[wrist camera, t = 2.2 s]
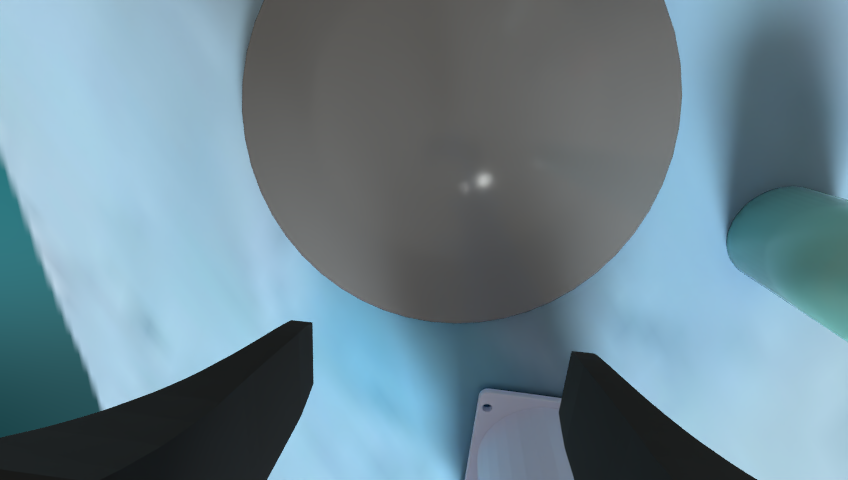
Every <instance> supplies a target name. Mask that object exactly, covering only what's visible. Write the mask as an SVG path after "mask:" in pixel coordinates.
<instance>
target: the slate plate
mask: <svg viewBox="0 0 848 480" xmlns="http://www.w3.org/2000/svg"><path fill="white" fill-rule="evenodd" d="M681 100H682V86H681V65H680V58H679V53H678V48H677V42H676V37H675V31H674V29H673V26H672V23H671V20H670V17H669V14H668V11H667V8H666V5H665V2H664V0H264V2H263V4H262V6H261V9H260V11H259V14H258V16H257V19H256V21H255V24H254V27H253V31H252V35H251V38H250V42H249V46H248V49H247V54H246V61H245V68H244V75H243V89H242V114H243V123H244V132H245V140H246V145H247V149H248V153H249V158H250V162H251V166H252V169H253V172H254V174H255V177H256V180H257V183H258V186H259V188H260V191H261V193H262V195H263V197H264V199H265V201H266V203H267V205H268V207H269V209H270V211H271V213H272V215H273V217H274V218H275V220H276V221H277V223H278V224H279V226H280V227H281V229H282V230H283V232H284V233H285V235H286V237H287V238H288V239H289V240H290V241H291V243H292V244H293V245H294V246H295V247H296V249H297V250H298V251H299V252H300V253H301V254H302V256H303V257H304V258H305V259H306V260H307V261H309V262H310V263H311V264H312V265H313V266H314V267H315V268H316V269H317V270H318V271H319V272H320V273H321V274H323V275H324V276H325V277H327V278H328V279H329V280H331V281H332V282H333V283H335V284H336V285H337V286H339V287H340V288H341V289H343V290H345V291H347V292H348V293H350V294H352V295H353V296H355V297H357V298H359V299H360V300H362V301H364V302H367V303H369V304H371V305H373V306H376V307H378V308H380V309H383V310H385V311H388V312H392V313H395V314H398V315H401V316H405V317H409V318H414V319H419V320H425V321H430V322H443V323H472V322H483V321H490V320H496V319H502V318H506V317H510V316H513V315H517V314H520V313H524V312H527V311H530V310H532V309H535V308H537V307H540V306H542V305H544V304H547V303H549V302H552V301H553V300H555V299H557V298H559V297H561V296H562V295H564V294H566V293H568V292H570V291H571V290H573V289H575V288H576V287H577V286H579V285H580V284H582V283H583V282H584V281H586V280H587V279H589V278H590V277H591V276H593V275H594V274H596V273H597V272H598V271H599V270H600V269H601V268H602V267H603V266H604V265H605V264H606V263H608V262H609V261H610V260H611V259H612V258H613V257H614V256H615V255H616V254H617V253H618V252H619V250H620V249H621V248H622V247H623V246H624V245H625V244H626V242H627V241H628V240H629V239H630V238H631V237H632V235H633V234H634V233H635V231H636V230H637V228H638V227H639V225H640V224H641V222H642V221H643V219H644V218H645V216H646V215H647V213H648V212H649V210H650V208H651V206H652V204H653V202H654V200H655V198H656V196H657V194H658V192H659V190H660V189H661V187H662V185H663V182H664V179H665V176H666V173H667V171H668V168H669V165H670V162H671V159H672V157H673V152H674V148H675V143H676V139H677V134H678V130H679V123H680V112H681Z"/></svg>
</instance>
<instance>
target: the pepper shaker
mask: <svg viewBox="0 0 848 480" xmlns="http://www.w3.org/2000/svg"><path fill="white" fill-rule="evenodd" d="M727 251H728V255H729V258H730V260H731V261H732V263H733V264H734V266H735V267H736V268H737V269H738V270H739V271H741V272H742V273H744V274H745V275H747V276H748V277H750V278H751V279H753V280H754V281H756V282H757V283H759V284H760V285H762V286H763V287H765V288H766V289H768V290H769V291H771V292H773V293H774V294H776V295H777V296H779V297H780V298H782V299H783V300H785V301H786V302H788V303H789V304H791V305H792V306H794V307H795V308H797V309H798V310H800V311H801V312H803V313H804V314H806V315H807V316H809V317H810V318H812V319H813V320H815V321H817V322H818V323H820V324H821V325H823V326H824V327H826V328H827V329H829V330H830V331H832V332H833V333H835V334H836V335H838V336H839V337H841V338H842V339H844V340H845V341H847V342H848V200H846V199H843V198H840V197H836V196H833V195H829V194H826V193H822V192H819V191H815V190H812V189H808V188H804V187H796V186H790V187H781V188H777V189H773V190H770V191H768V192H765V193H763V194H761V195H759V196H758V197H756V198H754V199H753V200H752V201H750V202H749V203H748V204H747V205H745V206H744V207H743V208H742V210H741V211H740V212H739V213H738V214H737V216H736V217H735V219H734V220H733V222H732V224H731V226H730V229H729V232H728V236H727Z"/></svg>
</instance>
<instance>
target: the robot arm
mask: <svg viewBox="0 0 848 480" xmlns="http://www.w3.org/2000/svg"><path fill="white" fill-rule="evenodd" d="M312 386H313V336H312V323H311V322H302V321H293V320H291V321H289V322H287V323H285V324H283V325H281V326H280V327H278V328H276V329H275V330H273V331H271V332H270V333H268V334H266V335H265V336H263V337H261V338H260V339H258V340H256V341H255V342H253V343H251V344H249V345H248V346H246V347H244V348H243V349H241V350H239V351H238V352H236V353H234V354H232V355H230V356H229V357H227V358H225V359H223V360H221V361H219V362H217V363H215V364H214V365H212V366H210V367H208V368H206V369H204V370H202V371H200V372H198V373H196V374H194V375H192V376H190V377H188V378H186V379H184V380H181V381H179V382H177V383H175V384H172V385H170V386H168V387H165V388H163V389H161V390H158V391H156V392H153V393H151V394H148V395H145V396H142V397H140V398H137V399H134V400H131V401H129V402H126V403H123V404H120V405H118V406H115V407H112V408H109V409H106V410H103V411H100V412H97V413H94V414H90V415H88V416H84V417H81V418H77V419H74V420H70V421H66V422H63V423H59V424H56V425H52V426H48V427H45V428H40V429H36V430H32V431H28V432H23V433H19V434H14V435H10V436H6V437H2V438H0V480H267V479H268V477H269V475H270V473H271V471H272V469H273V467H274V466H275V464H276V462H277V460H278V458H279V456H280V454H281V453H282V451H283V449H284V447H285V445H286V443H287V441H288V440H289V438H290V436H291V434H292V432H293V430H294V428H295V426H296V425H297V423H298V421H299V419H300V417H301V415H302V412H303V410H304V407H305V404H306V402H307V399H308V397H309V394H310V391H311V388H312ZM485 404H489V405H491V406H489V407H485V406H483V405H485ZM465 480H757V479H755V478H753V477H752V476H750V475H749V474H747V473H745V472H744V471H742V470H741V469H739V468H738V467H736V466H734V465H733V464H731V463H730V462H728V461H727V460H726V459H724V458H723V457H721V456H720V455H718V454H717V453H715V452H714V451H713V450H711V449H710V448H708V447H707V446H705V445H704V444H702V443H701V442H700V441H698V440H697V439H696V438H694V437H693V436H692V435H690V434H689V433H688V432H686V431H685V430H684V429H682V428H681V427H680V426H679V425H677V424H676V423H675V422H674V421H672V420H671V419H670V418H669V417H667V416H666V415H665V414H664V413H662V412H661V411H660V410H659V409H658V408H656V407H655V406H654V405H653V404H652V403H650V402H649V401H648V400H647V399H646V398H645V397H644V396H642V395H641V394H640V393H639V392H638V391H637V390H636V389H634V388H633V387H632V386H631V385H630V384H629V383H628V382H627V381H625V380H624V379H623V378H622V377H621V376H620V375H619V374H618V373H617V372H616V371H614V370H613V369H612V368H611V367H610V366H609V365H608V364H607V363H605V362H604V361H603V360H602V359H601V358H600V357H598V356H597V355H596V354H592V353H583V352H574V351H572V353H571V357H570V362H569V367H568V371H567V376H566V380H565V385H564V390H563V394H562V398H557V397H550V396H542V395H535V394H527V393H520V392H512V391H505V390H497V389H490V388H487V389H483V390H482V391H481V392H480V393H479V397H478V403H477V409H476V415H475V421H474V427H473V433H472V439H471V445H470V451H469V457H468V463H467V469H466V474H465Z"/></svg>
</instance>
